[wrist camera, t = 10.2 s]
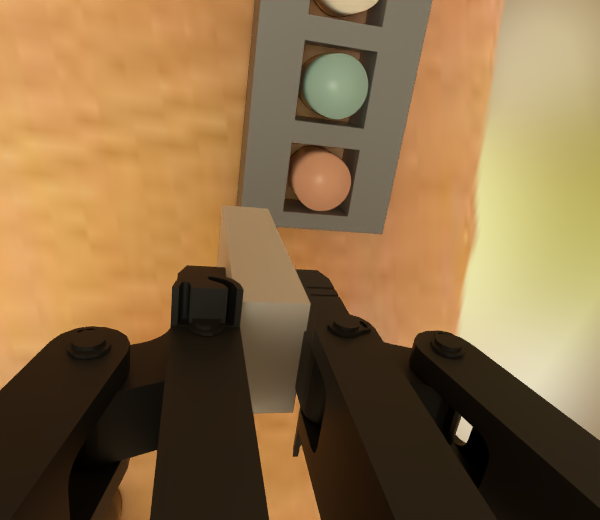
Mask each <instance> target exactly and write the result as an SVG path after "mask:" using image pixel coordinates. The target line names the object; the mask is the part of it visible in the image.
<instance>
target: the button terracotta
mask: <svg viewBox="0 0 600 520" xmlns="http://www.w3.org/2000/svg"><path fill="white" fill-rule="evenodd" d="M287 180H288V183H289V185H290V187H291V188H292V189H293V191H294V192H295V194H296V195H297V197H298V198H299V199H300V201H301V202H302V203H303V204H304V205H305V206H306V207H308V208H310V209H312V210H316V211H327V210H330V209H333V208H335V207H337V206H338V205H339V204H341V203H342V202H343V201H344V199H345V198H346V196H347V195H348V193H349V190H350V186H351V176H350V172H349V170H348V168H347V166H346V165H345V163H344V162H343V161H342V160H340V159H339V158H338V157H336V156H335V155H333V154H332V153H331V152H329V151H328V150H326V149H325V148H323V147H320V146H307V147H304V148H301V149H300V150H298V151H297V152H296V153H295V154H294V155H293V156H292V157H291V159H290V161H289V169H288V176H287Z"/></svg>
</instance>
